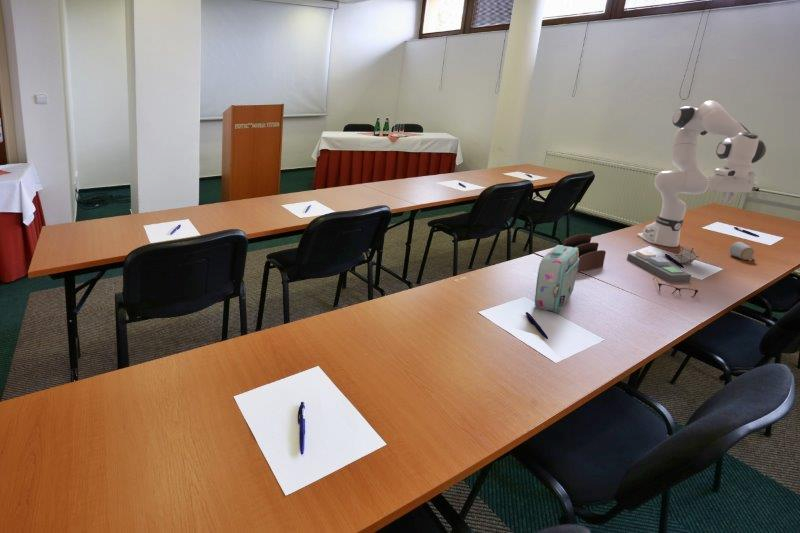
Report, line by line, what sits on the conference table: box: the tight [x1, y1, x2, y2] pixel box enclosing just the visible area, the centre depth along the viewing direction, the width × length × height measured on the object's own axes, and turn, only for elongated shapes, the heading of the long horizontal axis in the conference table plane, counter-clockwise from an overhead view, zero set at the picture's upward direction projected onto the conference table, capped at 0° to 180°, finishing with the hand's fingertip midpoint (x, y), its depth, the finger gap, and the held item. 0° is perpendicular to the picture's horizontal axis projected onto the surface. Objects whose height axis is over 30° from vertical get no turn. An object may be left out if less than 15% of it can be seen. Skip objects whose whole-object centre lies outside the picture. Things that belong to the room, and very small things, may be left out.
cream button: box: [635, 250, 657, 259], centre depth 221 cm, size 6×6×3 cm
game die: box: [674, 246, 699, 266], centre depth 224 cm, size 9×8×10 cm
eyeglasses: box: [652, 276, 699, 298], centre depth 193 cm, size 14×14×4 cm
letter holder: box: [562, 233, 607, 274], centre depth 210 cm, size 10×20×14 cm, turn 124°
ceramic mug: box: [729, 241, 755, 261], centre depth 239 cm, size 11×8×8 cm
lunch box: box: [534, 244, 579, 314], centre depth 169 cm, size 27×10×21 cm, turn 150°
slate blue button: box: [648, 256, 671, 266], centre depth 214 cm, size 6×6×3 cm
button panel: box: [626, 252, 692, 283], centre depth 214 cm, size 28×11×3 cm, turn 13°
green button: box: [662, 267, 684, 273], centre depth 206 cm, size 6×6×3 cm
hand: (726, 201), depth 209 cm, fingers closed
